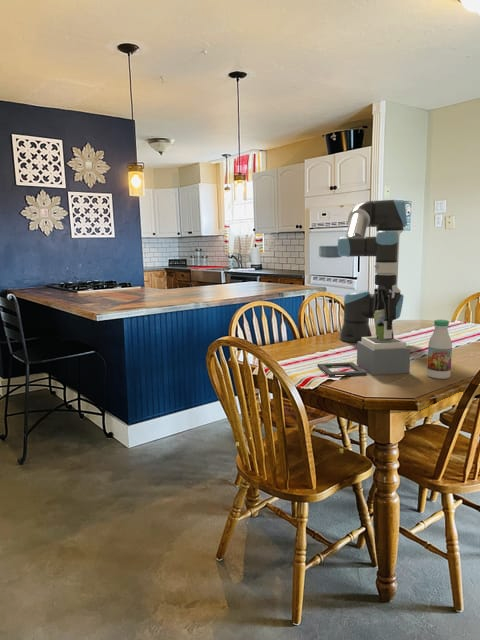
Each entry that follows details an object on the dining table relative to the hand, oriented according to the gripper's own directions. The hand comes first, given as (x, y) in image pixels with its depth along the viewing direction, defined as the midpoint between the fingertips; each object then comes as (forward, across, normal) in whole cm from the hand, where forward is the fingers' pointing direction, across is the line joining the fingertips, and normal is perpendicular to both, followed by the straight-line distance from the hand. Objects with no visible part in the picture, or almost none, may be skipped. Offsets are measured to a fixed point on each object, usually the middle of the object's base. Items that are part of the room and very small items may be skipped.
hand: (383, 336), depth 175 cm
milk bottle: (+13, +13, +15) cm, 24 cm away
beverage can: (+2, 0, 0) cm, 2 cm away
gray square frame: (+12, 0, -16) cm, 20 cm away
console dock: (+12, 0, 0) cm, 12 cm away
